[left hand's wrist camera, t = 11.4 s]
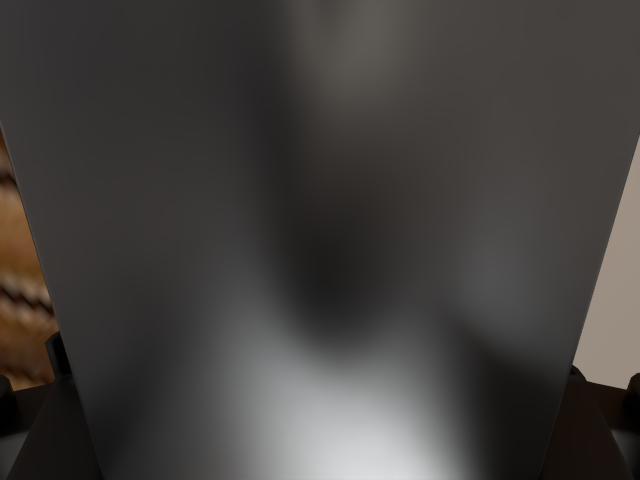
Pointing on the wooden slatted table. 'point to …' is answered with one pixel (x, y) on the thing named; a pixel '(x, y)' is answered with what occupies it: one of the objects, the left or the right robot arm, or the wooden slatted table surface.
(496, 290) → the box
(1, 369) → the wooden slatted table surface
